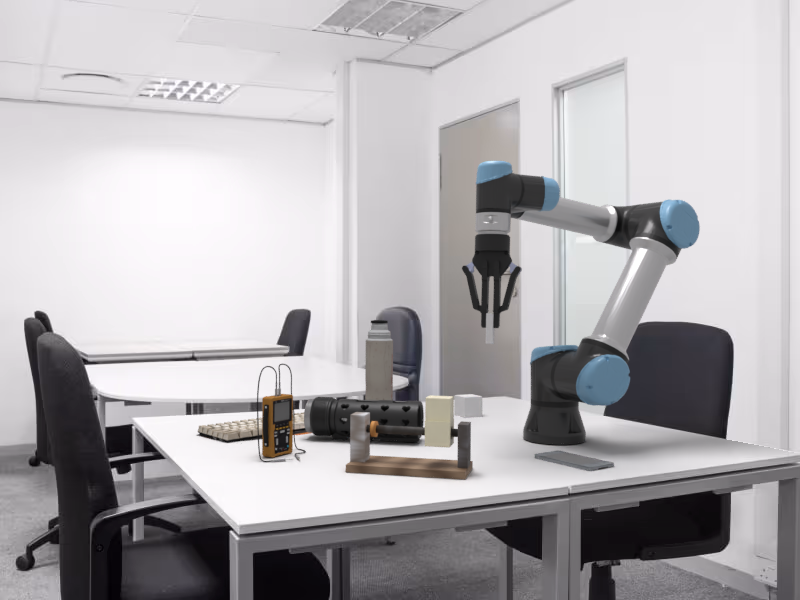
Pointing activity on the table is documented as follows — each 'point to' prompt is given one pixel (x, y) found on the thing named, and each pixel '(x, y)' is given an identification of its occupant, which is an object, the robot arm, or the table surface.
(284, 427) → the multimeter
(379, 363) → the thermos bottle
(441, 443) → the stacked cream cubes
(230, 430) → the mechanical keyboard
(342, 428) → the muzzle brake
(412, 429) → the twin post axle stand
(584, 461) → the phone
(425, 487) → the table surface
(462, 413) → the white cube
